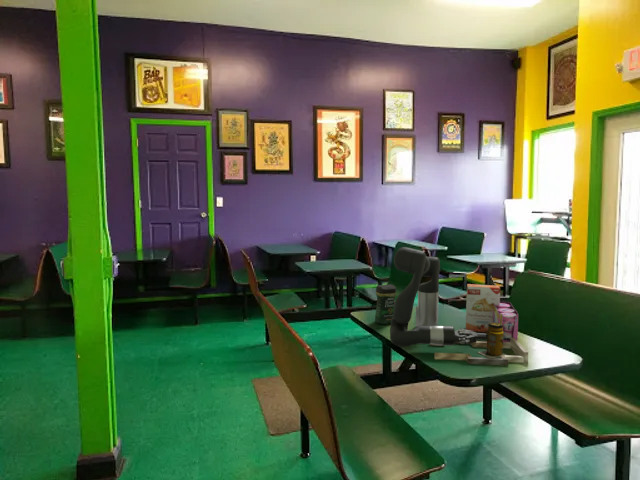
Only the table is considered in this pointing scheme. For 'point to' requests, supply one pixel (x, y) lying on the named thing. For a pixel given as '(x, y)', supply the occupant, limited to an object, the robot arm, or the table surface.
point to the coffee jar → (385, 303)
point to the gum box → (506, 319)
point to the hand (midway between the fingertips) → (486, 336)
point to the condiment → (494, 341)
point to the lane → (503, 360)
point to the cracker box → (481, 306)
